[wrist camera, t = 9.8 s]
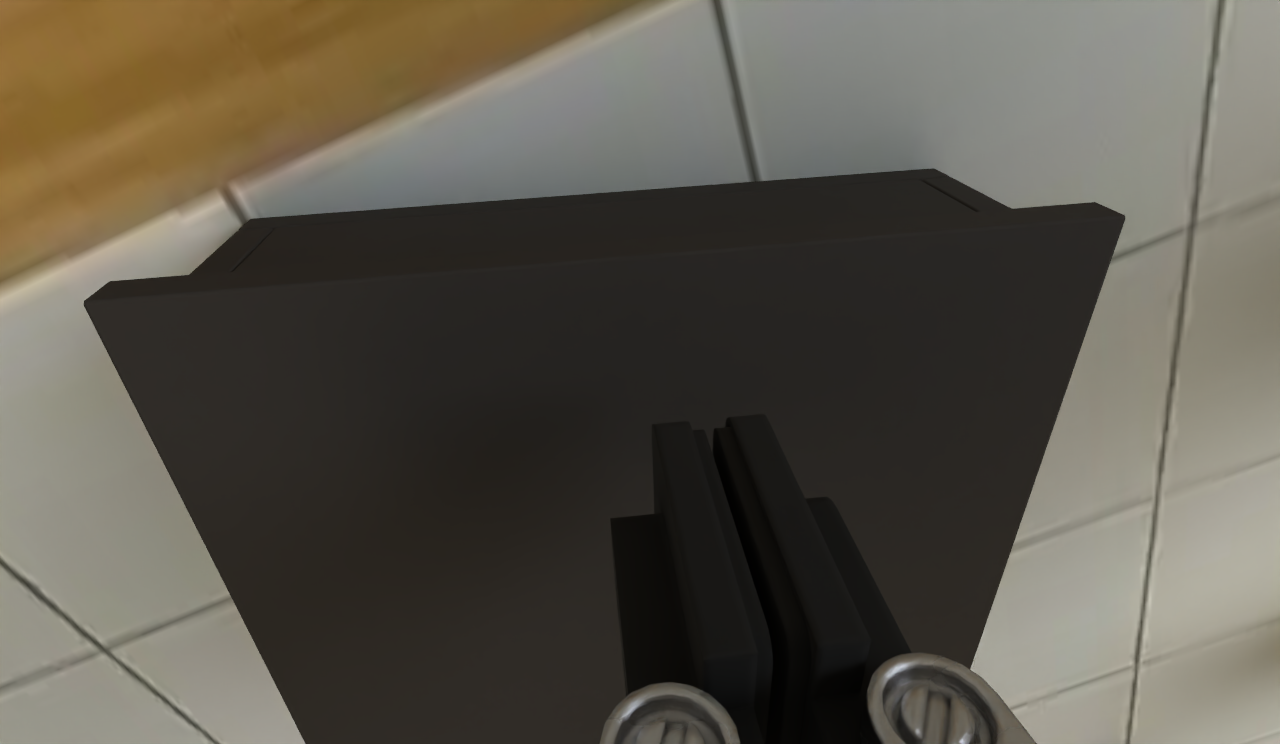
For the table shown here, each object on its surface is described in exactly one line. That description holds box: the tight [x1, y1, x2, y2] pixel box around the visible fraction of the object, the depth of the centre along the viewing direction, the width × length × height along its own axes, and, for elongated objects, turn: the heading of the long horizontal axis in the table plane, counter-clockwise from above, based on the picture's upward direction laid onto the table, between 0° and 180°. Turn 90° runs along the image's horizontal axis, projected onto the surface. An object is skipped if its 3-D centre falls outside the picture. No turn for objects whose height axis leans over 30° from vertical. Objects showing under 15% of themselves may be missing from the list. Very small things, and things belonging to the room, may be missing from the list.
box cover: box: [84, 202, 1125, 744], centre depth 15 cm, size 13×17×1 cm
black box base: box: [190, 169, 1011, 275], centre depth 18 cm, size 13×17×5 cm
